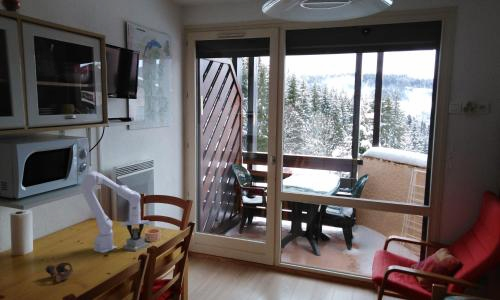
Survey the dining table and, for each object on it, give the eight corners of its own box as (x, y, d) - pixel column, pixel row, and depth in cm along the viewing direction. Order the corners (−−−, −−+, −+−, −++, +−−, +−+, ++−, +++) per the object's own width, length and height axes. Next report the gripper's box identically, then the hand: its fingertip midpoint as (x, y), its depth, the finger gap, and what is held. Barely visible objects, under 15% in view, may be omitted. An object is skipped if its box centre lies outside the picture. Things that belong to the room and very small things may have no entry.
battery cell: (135, 243, 204) (135, 229, 204) (130, 242, 206) (130, 228, 205) (140, 241, 208) (140, 227, 207) (135, 240, 209) (135, 226, 208)
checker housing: (135, 251, 200) (135, 242, 200) (122, 248, 205) (122, 239, 205) (148, 245, 209) (148, 237, 209) (135, 242, 214) (135, 234, 213)
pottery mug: (75, 272, 176) (76, 261, 172) (68, 289, 168) (69, 278, 164) (48, 268, 173) (49, 256, 169) (39, 285, 165) (40, 273, 161)
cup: (153, 242, 214) (153, 234, 213) (142, 240, 218) (142, 232, 217) (163, 238, 221) (163, 230, 221) (152, 235, 225) (152, 227, 225)
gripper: (148, 211, 211) (148, 234, 213) (121, 213, 207) (122, 236, 208) (148, 214, 204) (149, 238, 206) (121, 216, 200) (121, 240, 202)
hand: (135, 237), depth 207 cm, fingers closed on battery cell, 4 cm apart
